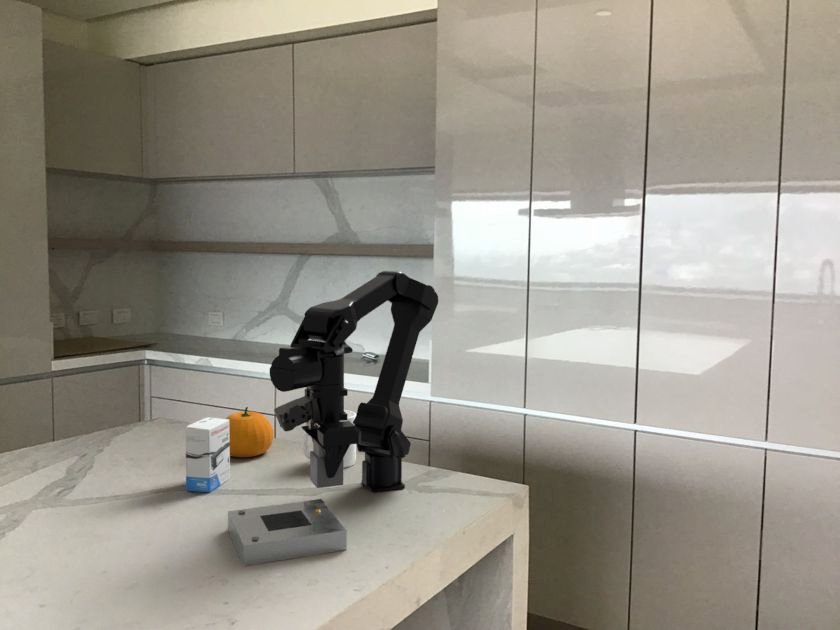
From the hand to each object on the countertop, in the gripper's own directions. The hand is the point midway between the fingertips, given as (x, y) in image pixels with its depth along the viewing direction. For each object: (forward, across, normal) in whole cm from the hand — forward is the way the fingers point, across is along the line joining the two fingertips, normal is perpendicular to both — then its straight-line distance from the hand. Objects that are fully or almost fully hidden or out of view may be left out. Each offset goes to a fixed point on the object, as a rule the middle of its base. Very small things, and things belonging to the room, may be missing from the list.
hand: (326, 473), depth 126 cm
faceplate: (+6, +10, -9) cm, 15 cm away
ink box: (+7, -20, -17) cm, 27 cm away
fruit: (+7, -38, -7) cm, 39 cm away
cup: (+6, -24, +7) cm, 26 cm away
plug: (+2, 0, 0) cm, 2 cm away
